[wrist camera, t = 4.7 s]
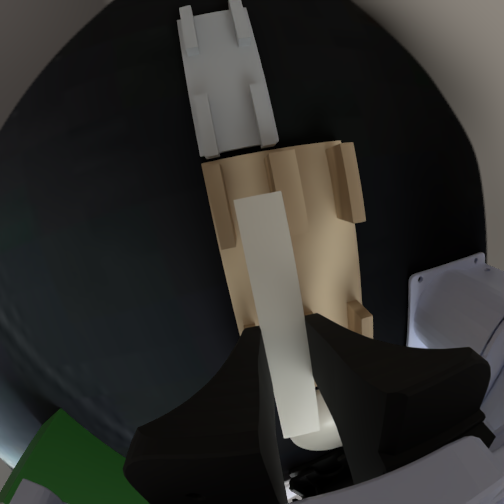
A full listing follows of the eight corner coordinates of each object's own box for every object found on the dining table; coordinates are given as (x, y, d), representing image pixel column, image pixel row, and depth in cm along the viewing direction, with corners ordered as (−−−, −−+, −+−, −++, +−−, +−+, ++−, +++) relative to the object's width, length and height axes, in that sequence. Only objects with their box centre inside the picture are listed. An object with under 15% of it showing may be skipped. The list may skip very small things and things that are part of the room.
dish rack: (336, 142, 18) (357, 133, 14) (359, 349, 21) (377, 373, 18) (202, 164, 17) (194, 159, 14) (251, 375, 21) (253, 404, 18)
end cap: (310, 489, 26) (319, 528, 20) (283, 472, 25) (291, 517, 18) (379, 455, 25) (398, 493, 19) (362, 434, 24) (384, 479, 17)
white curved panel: (267, 202, 15) (281, 190, 9) (299, 372, 16) (320, 430, 10) (237, 208, 15) (233, 199, 9) (273, 378, 16) (283, 438, 10)
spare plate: (378, 367, 22) (383, 374, 21) (372, 427, 24) (376, 434, 23) (281, 393, 22) (282, 402, 21) (292, 450, 24) (294, 458, 23)
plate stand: (244, 9, 15) (245, -4, 13) (278, 147, 17) (282, 142, 16) (177, 21, 15) (173, 9, 13) (202, 161, 17) (198, 158, 16)
